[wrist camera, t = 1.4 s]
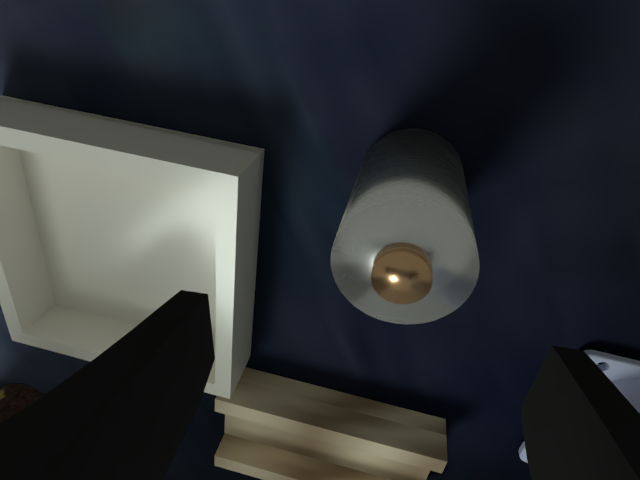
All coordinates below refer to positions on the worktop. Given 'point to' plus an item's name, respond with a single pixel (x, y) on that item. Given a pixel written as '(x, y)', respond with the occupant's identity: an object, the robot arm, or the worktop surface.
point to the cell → (407, 231)
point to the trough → (323, 434)
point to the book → (16, 399)
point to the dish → (123, 231)
